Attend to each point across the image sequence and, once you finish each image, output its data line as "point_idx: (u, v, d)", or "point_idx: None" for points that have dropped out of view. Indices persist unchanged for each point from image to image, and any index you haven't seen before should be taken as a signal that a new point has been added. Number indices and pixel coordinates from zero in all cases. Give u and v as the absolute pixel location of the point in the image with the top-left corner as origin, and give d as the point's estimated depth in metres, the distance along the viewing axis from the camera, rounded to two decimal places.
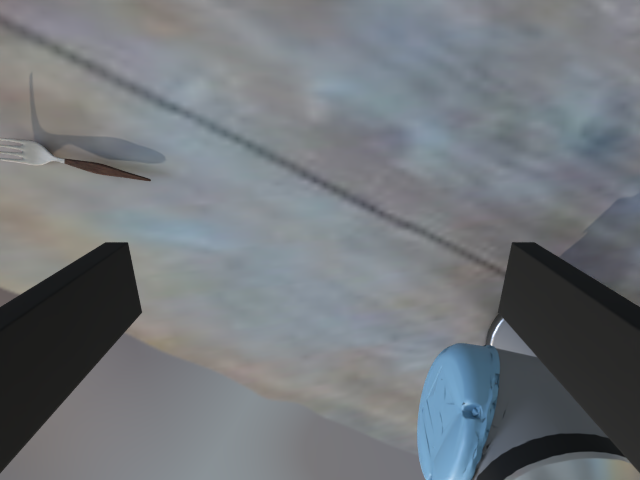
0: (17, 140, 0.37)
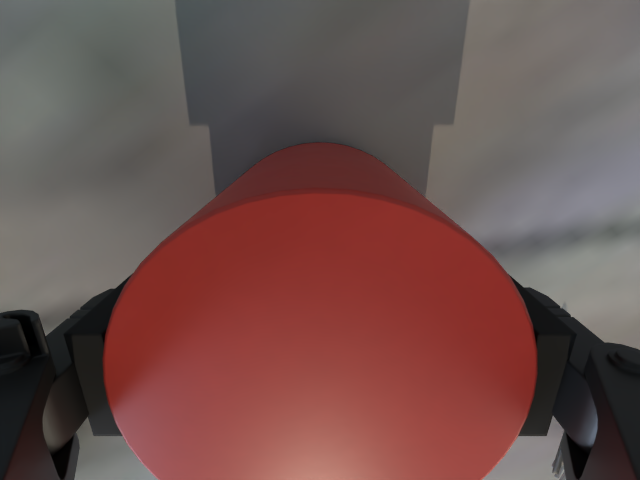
0: None
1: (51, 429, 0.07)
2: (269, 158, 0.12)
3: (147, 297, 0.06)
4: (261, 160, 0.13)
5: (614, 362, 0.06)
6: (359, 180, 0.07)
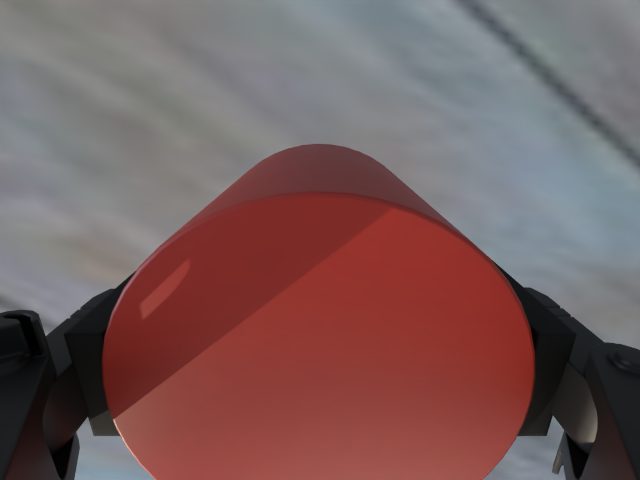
0: None
1: (51, 429, 0.07)
2: (268, 160, 0.12)
3: (146, 300, 0.06)
4: (260, 162, 0.13)
5: (614, 362, 0.06)
6: (357, 183, 0.07)
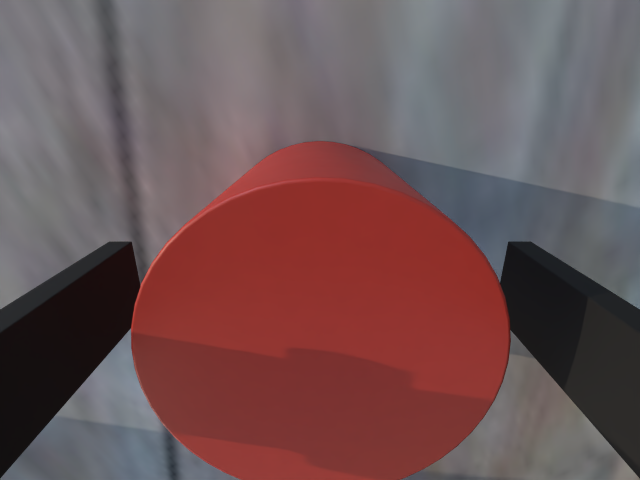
0: None
1: None
2: (273, 155, 0.13)
3: (171, 272, 0.07)
4: (265, 158, 0.14)
5: None
6: (354, 172, 0.08)
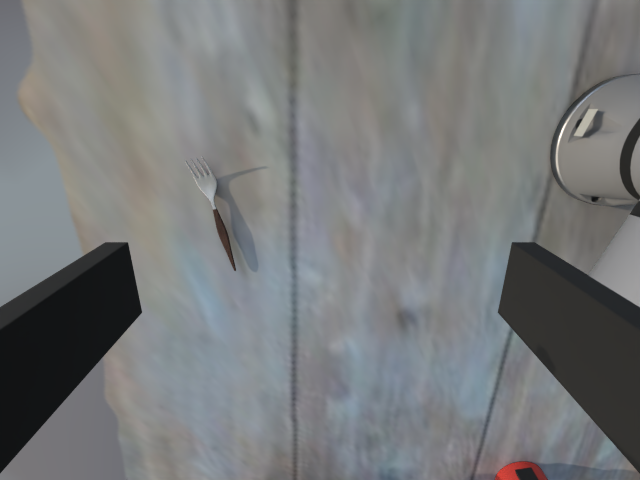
0: (210, 171, 0.44)
1: None
2: None
3: None
4: (512, 467, 0.62)
5: None
6: None
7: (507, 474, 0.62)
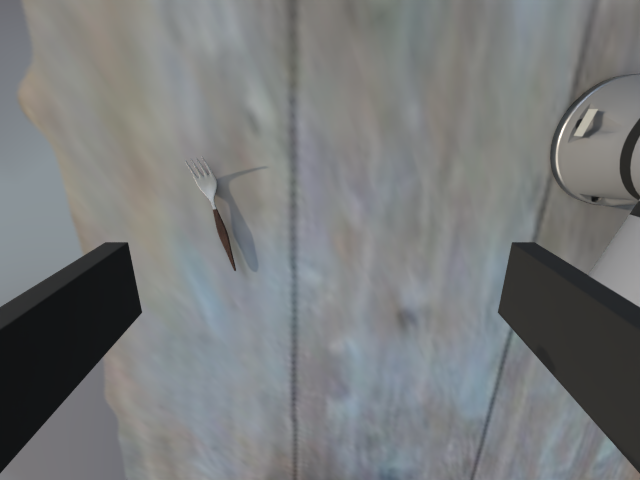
0: (210, 171, 0.44)
1: None
2: None
3: None
4: None
5: None
6: None
7: None
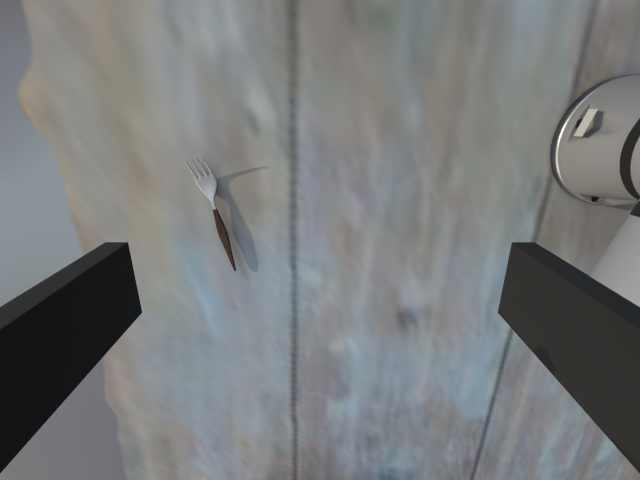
0: (210, 171, 0.44)
1: None
2: None
3: None
4: None
5: None
6: None
7: None
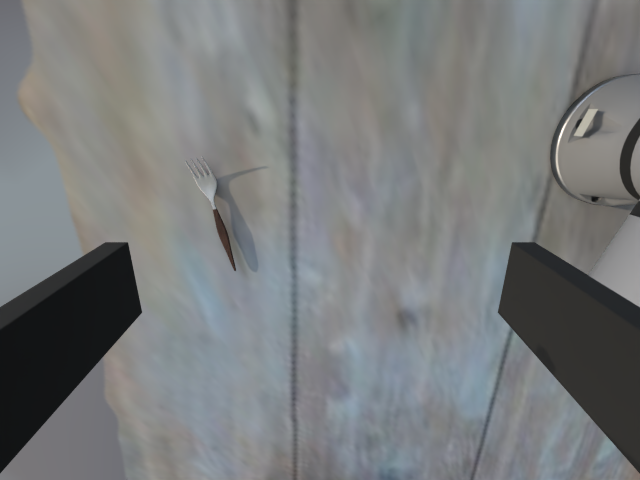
0: (210, 171, 0.44)
1: None
2: None
3: None
4: None
5: None
6: None
7: None
